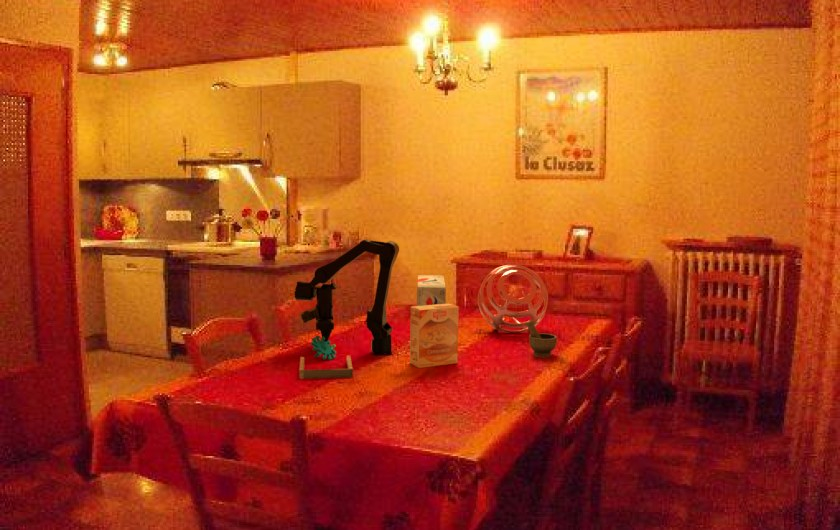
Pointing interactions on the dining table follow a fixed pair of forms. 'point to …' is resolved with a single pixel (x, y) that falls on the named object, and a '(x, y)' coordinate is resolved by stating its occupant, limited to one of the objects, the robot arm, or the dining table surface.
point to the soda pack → (431, 290)
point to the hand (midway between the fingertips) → (324, 344)
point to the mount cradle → (326, 371)
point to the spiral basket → (513, 299)
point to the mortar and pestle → (541, 341)
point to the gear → (323, 348)
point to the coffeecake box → (434, 335)
